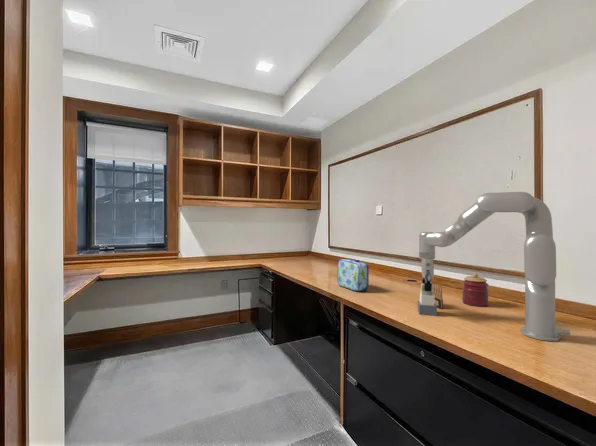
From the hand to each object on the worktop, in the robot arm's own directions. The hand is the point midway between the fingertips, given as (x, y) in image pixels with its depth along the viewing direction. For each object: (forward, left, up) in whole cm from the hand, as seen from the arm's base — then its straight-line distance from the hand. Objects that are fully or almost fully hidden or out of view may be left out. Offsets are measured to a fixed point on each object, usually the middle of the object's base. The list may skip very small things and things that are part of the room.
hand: (426, 288), depth 146 cm
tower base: (0, 0, -13) cm, 13 cm away
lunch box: (+43, -43, -13) cm, 62 cm away
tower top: (0, 0, -8) cm, 8 cm away
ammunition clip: (-6, -15, -13) cm, 21 cm away
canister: (-29, -28, -13) cm, 42 cm away
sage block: (0, 0, -3) cm, 3 cm away
